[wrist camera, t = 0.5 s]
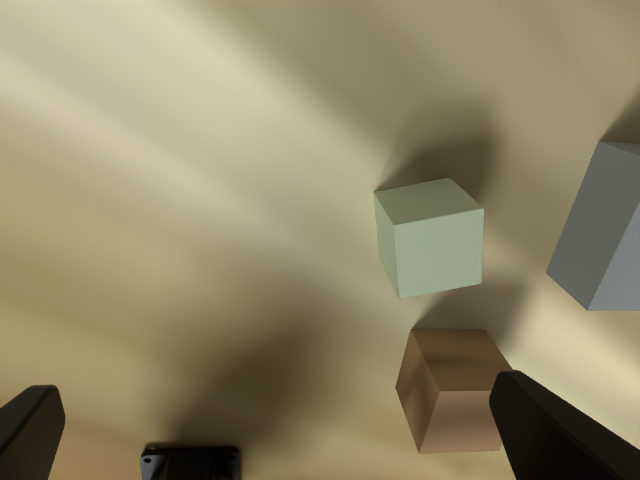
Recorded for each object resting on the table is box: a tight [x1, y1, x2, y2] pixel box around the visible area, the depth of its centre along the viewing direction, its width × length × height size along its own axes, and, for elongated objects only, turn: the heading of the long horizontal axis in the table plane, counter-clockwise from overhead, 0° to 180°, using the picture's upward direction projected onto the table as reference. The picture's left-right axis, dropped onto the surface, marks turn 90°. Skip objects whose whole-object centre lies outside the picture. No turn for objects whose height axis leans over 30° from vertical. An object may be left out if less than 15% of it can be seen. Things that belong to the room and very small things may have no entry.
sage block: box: [373, 178, 484, 300], centre depth 21 cm, size 4×4×4 cm
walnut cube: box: [395, 329, 513, 454], centre depth 26 cm, size 5×5×5 cm
